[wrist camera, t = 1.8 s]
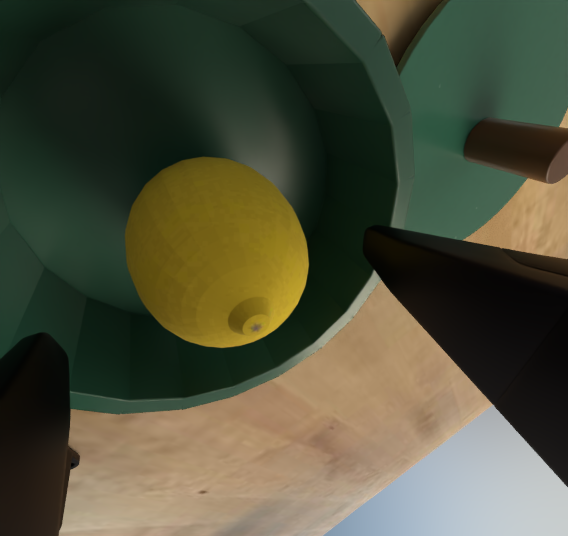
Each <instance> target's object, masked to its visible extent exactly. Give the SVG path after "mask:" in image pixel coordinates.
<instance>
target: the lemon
mask: <svg viewBox="0 0 568 536" xmlns="http://www.w3.org/2000/svg"><path fill="white" fill-rule="evenodd" d="M125 246H126V260H127V266H128V270H129V273H130V275H131V278H132V280H133V283H134V285H135V287H136V290H137V292H138V295H139V297H140V299H141V301H142V302H143V304H144V305H145V307H146V308H147V309H148V310H149V312H150V313H151V314H152V315H153V316H154V317H155V319H156V320H157V321H158V322H159V323H160V324H161V325H162V326H163V327H164V328H165V329H167V330H169V331H170V332H172V333H174V334H175V335H177V336H179V337H180V338H182V339H184V340H185V341H189V342H192V343H195V344H199V345H202V346H207V347H219V348H225V347H234V346H241V345H244V344H248V343H251V342H254V341H256V340H258V339H260V338H263V337H265V336H267V335H268V334H269V333H271V332H272V331H274V330H275V329H277V328H278V327H279V326H280V325H281V324H282V323H283V322H284V321H285V320H286V319H287V318H288V317H289V315H290V314H291V312H292V311H293V310H294V308H295V307H296V306H297V304H298V302H299V300H300V297H301V295H302V293H303V290H304V288H305V285H306V280H307V274H308V267H309V261H308V249H307V242H306V239H305V236H304V233H303V230H302V228H301V225H300V223H299V220H298V218H297V216H296V214H295V212H294V210H293V208H292V206H291V205H290V204H289V202H288V201H287V200H286V198H285V197H284V196H283V195H282V193H281V192H280V191H279V190H278V188H277V187H276V186H275V185H274V184H273V183H272V182H271V181H269V180H268V179H266V178H265V177H264V176H262V175H261V174H259V173H258V172H257V171H255V170H254V169H252V168H251V167H249V166H246V165H244V164H241V163H238V162H235V161H232V160H230V159H226V158H216V157H198V158H192V159H187V160H182V161H179V162H177V163H175V164H173V165H171V166H169V167H167V168H165V169H163V170H161V171H160V172H159V173H158V174H157V175H156V176H154V177H153V178H152V179H151V180H150V181H149V182H148V183H146V185H145V186H144V188H143V189H142V191H141V192H140V194H139V195H138V197H137V198H136V200H135V202H134V203H133V205H132V208H131V211H130V215H129V218H128V222H127V226H126V230H125Z"/></svg>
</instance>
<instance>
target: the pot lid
mask: <svg viewBox="0 0 568 536" xmlns="http://www.w3.org/2000/svg"><path fill="white" fill-rule="evenodd" d="M396 69H397V72H398V74H399V77H400V80H401V83H402V85H403V88H404V91H405V93H406V96H407V99H408V102H409V104H410V107H411V109H410V111H411V115H412V133H413V150H414V168H415V174H414V182H413V187H412V192H411V197H410V202H409V207H408V211H407V216H406V221H405V226H404V230H409V231H414V232H420V233H425V234H430V235H436V236H441V237H446V238H451V239H457V240H463V239H465V238H466V237H468V236H469V235H471V234H472V233H474V232H475V231H477V230H478V229H479V228H480V227H482V226H483V225H484V224H486V223H487V222H488V221H489V220H490V219H491V218H492V217H493V216H494V215H496V214H497V213H498V212H499V211H500V210H501V209H502V208H503V207H504V206H505V205H506V203H507V202H508V201H509V200H510V199H511V198H512V197H513V196H514V194H515V193H516V192H517V191H518V190H519V188H520V187H521V186H522V185H523V183H524V182H525V181H526V180H527V178H530V179H533V180H537V181H540V182H544V183H548V184H553V183H556V182H558V181H560V180H561V179H563V178H564V177H565V176H566V175H567V174H568V128H561V127H559V126H560V124H561V122H562V120H563V117H564V115H565V113H566V111H567V108H568V0H443V1H442V2H441V3H440V4H439V5H438V6H437V7H436V9H435V10H434V11H433V12H432V14H431V15H430V16H429V17H428V19H427V20H426V21H425V22H424V24H423V25H422V26H421V28H420V29H419V31H418V32H417V34H416V35H415V37H414V38H413V40H412V41H411V43H410V45H409V46H408V48H407V49H406V51H405V53H404V55H403V56H402V58H401V60H400V62H399V64H398V66H397V68H396Z"/></svg>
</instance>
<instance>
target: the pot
mask: <svg viewBox="0 0 568 536" xmlns="http://www.w3.org/2000/svg"><path fill="white" fill-rule="evenodd" d="M410 109H411V107H410V104H409V102H408V99H407V96H406V93H405V91H404V88H403V85H402V83H401V80H400V77H399V74H398V72H397V69H396V66H395V64H394V61H393V58H392V55H391V53H390V50H389V47H388V45H387V42H386V39H385V36H384V35H382V33H381V30H380V29H379V28H378V27H377V26H376V24H375V23H374V22H373V21H372V20H371V18H370V17H369V16H368V15H367V14H366V12H365V11H364V10H363V9H362V8H361V6H360V5H359V4H358V3H357V1H356V0H0V359H1V358H2V357H3V356H4V355H5V354H6V353H7V352H8V351H9V350H10V349H12V348H13V347H14V346H15V345H16V344H17V343H18V342H19V341H20V340H21V339H22V338H24V337H27V336H30V335H33V334H36V333H39V332H47V333H49V334H50V335H51V336H52V337H53V338H54V339H55V341H56V342H57V343H58V344H59V345H60V346H61V347H62V348H63V349H64V350H65V352H66V353H67V355H68V359H69V380H70V409H77V410H85V411H94V412H102V413H110V414H129V413H143V412H156V411H170V410H180V409H182V410H183V409H187V408H191V407H195V406H199V405H203V404H207V403H210V402H214V401H218V400H222V399H226V398H230V397H233V396H234V395H235V396H236V395H238V394H240V393H243V392H245V391H247V390H249V389H251V388H254V387H256V386H258V385H260V384H263V383H265V382H267V381H269V380H272V379H274V378H276V377H278V376H280V375H282V374H283V373H285V372H286V371H288V370H289V369H291V368H292V367H294V366H295V365H297V364H298V363H300V362H301V361H303V360H304V359H306V358H307V357H309V356H310V355H312V354H313V353H315V352H316V351H318V350H319V349H321V348H322V347H323V346H324V345H325V344H326V343H327V342H328V341H329V340H330V339H331V338H332V337H333V336H335V335H336V334H337V333H338V332H339V331H340V330H341V329H342V328H343V327H344V326H345V325H346V324H347V323H348V322H349V321H350V320H351V319H352V318H353V317H354V316H355V315H356V313H357V312H358V310H359V309H360V308H361V306H362V305H363V304H364V302H365V301H366V299H367V298H368V297H369V295H370V294H371V293H372V291H373V290H374V288H375V287H376V286H377V284H378V283H379V282H380V280H381V279H380V277H379V276H378V274H377V273H376V272H375V270H374V269H373V268H372V266H371V265H370V264H369V262H368V261H367V259H366V258H365V257H364V255H363V251H362V247H363V238H364V231H365V229H366V228H368V227H371V226H374V225H383V226H388V227H393V228H399V229H404V226H405V221H406V216H407V211H408V207H409V202H410V197H411V192H412V187H413V182H414V174H415V168H414V150H413V133H412V115H411V111H410ZM198 157H216V158H226V159H230V160H232V161H235V162H238V163H241V164H244V165H246V166H249V167H251V168H252V169H254V170H255V171H257V172H258V173H259V174H261V175H262V176H264V177H265V178H266V179H268V180H269V181H271V182H272V183H273V184H274V185H275V186H276V187H277V188H278V190H279V191H280V192H281V193H282V195H283V196H284V197H285V198H286V200H287V201H288V202H289V204H290V205H291V206H292V208H293V210H294V212H295V214H296V216H297V218H298V220H299V223H300V225H301V228H302V230H303V233H304V236H305V239H306V242H307V249H308V261H309V267H308V274H307V280H306V285H305V288H304V290H303V293H302V295H301V297H300V300H299V302H298V304H297V306H296V307H295V308H294V310H293V311H292V312H291V314H290V315H289V317H288V318H287V319H286V320H285V321H284V322H283V323H282V324H281V325H280V326H279V327H278V328H277V329H275V330H274V331H272V332H271V333H269V334H268V335H267V336H265V337H263V338H260V339H258V340H256V341H254V342H251V343H248V344H244V345H241V346H234V347H225V348H219V347H207V346H202V345H199V344H195V343H192V342H189V341H185V340H184V339H182V338H180V337H179V336H177V335H175V334H174V333H172V332H170V331H169V330H167V329H165V328H164V327H163V326H162V325H161V324H160V323H159V322H158V321H157V320H156V319H155V317H154V316H153V315H152V314H151V313H150V312H149V310H148V309H147V308H146V307H145V305H144V304H143V302H142V301H141V299H140V297H139V295H138V292H137V290H136V287H135V285H134V283H133V280H132V278H131V275H130V273H129V270H128V266H127V260H126V246H125V230H126V226H127V222H128V218H129V215H130V211H131V208H132V205H133V203H134V202H135V200H136V198H137V197H138V195H139V194H140V192H141V191H142V189H143V188H144V186H145V185H146V183H148V182H149V181H150V180H151V179H152V178H153V177H154V176H156V175H157V174H158V173H159V172H160V171H161V170H163V169H165V168H167V167H169V166H171V165H173V164H175V163H177V162H179V161H182V160H187V159H192V158H198Z"/></svg>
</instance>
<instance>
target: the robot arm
mask: <svg viewBox="0 0 568 536" xmlns="http://www.w3.org/2000/svg"><path fill="white" fill-rule="evenodd" d="M362 251H363V255H364V257H365V258H366V259H367V261H368V262H369V264H370V265H371V266H372V268H373V269H374V270H375V272H376V273H377V274H378V276H379V277H380V279H381V280H382V281H383V283H384V284H385V285H386V287H387V288H388V289H389V290H390V292H391V293H392V294H393V295H394V296H395V297H396V298H397V299H398V301H399V302H400V303H401V304H402V305H403V306H404V307H405V308H406V309H407V310H408V312H409V313H410V314H411V315H412V316H413V317H414V318H415V319H416V320H417V321H418V323H419V324H420V325H421V326H422V327H423V328H424V329H425V330H426V331H427V332H428V334H429V335H430V336H431V337H432V338H433V339H434V340H435V341H436V342H437V344H438V345H439V346H440V347H441V348H442V349H443V350H444V351H445V352H446V353H447V355H448V356H449V357H450V358H451V359H452V360H453V361H454V362H455V363H456V364H457V366H458V367H459V368H460V369H461V370H462V371H463V372H464V373H465V374H466V375H467V377H468V378H469V379H470V380H471V381H472V382H473V383H474V384H475V385H476V386H477V388H478V389H479V390H480V391H481V392H482V393H483V394H484V395H485V396H486V397H487V399H488V400H489V401H490V402H491V403H492V404H493V405H494V406H495V407H496V409H497V410H498V411H499V412H500V413H501V414H502V415H503V416H504V417H505V419H506V420H507V421H508V422H509V423H510V424H511V425H512V426H513V427H514V428H515V430H516V431H517V432H518V433H519V434H520V435H521V436H522V437H523V438H524V439H525V441H527V443H528V444H529V445H530V446H531V447H532V448H533V449H534V451H535V452H536V453H537V454H538V455H539V456H540V457H541V458H542V459H543V460H544V462H545V463H546V464H547V465H548V466H549V467H550V468H551V469H552V470H553V471H554V473H555V474H556V475H557V476H558V477H559V478H560V479H561V480H562V481H563V482H564V484H565V485H566V486H567V487H568V259H562V258H556V257H550V256H543V255H537V254H532V253H526V252H520V251H515V250H510V249H504V248H502V249H501V248H499V247H494V246H488V245H483V244H478V243H473V242H467V241H462V240H457V239H451V238H446V237H441V236H436V235H430V234H425V233H420V232H414V231H409V230H404V229H399V228H393V227H388V226H383V225H374V226H371V227H368V228H366V229H365V231H364V238H363V247H362ZM69 429H70V380H69V359H68V355H67V353H66V352H65V350H64V349H63V348H62V347H61V346H60V345H59V344H58V343H57V342H56V341H55V339H54V338H53V337H52V336H51V335H50V334H49V333H47V332H39V333H36V334H33V335H30V336H27V337H24V338H22V339H21V340H20V341H19V342H18V343H17V344H16V345H15V346H14V347H13V348H12V349H10V350H9V351H8V352H7V353H6V354H5V355H4V356H3V357H2V358H1V359H0V536H58V535H59V530H60V528H61V526H62V520H63V514H64V507H65V501H66V494H67V488H68V481H69V475H70V470H71V469H73V468H75V467H77V466H78V465H79V461H80V456H79V455H78V454H77V453H76V452H74V451H73V450H72V449H70V448H69V447H68V439H69Z"/></svg>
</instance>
